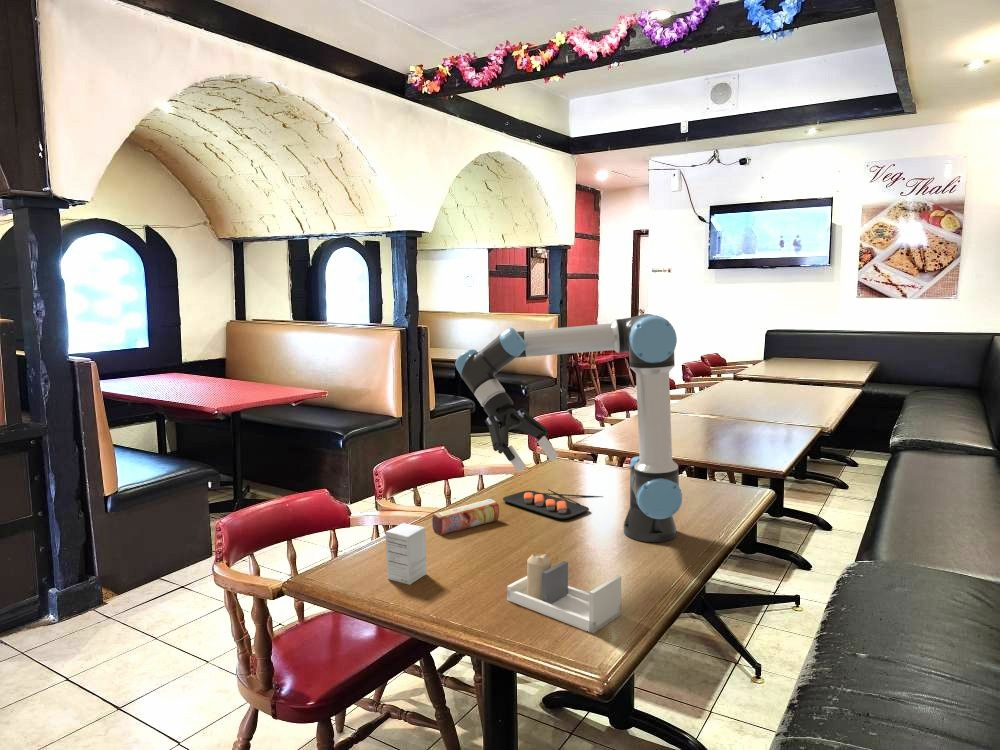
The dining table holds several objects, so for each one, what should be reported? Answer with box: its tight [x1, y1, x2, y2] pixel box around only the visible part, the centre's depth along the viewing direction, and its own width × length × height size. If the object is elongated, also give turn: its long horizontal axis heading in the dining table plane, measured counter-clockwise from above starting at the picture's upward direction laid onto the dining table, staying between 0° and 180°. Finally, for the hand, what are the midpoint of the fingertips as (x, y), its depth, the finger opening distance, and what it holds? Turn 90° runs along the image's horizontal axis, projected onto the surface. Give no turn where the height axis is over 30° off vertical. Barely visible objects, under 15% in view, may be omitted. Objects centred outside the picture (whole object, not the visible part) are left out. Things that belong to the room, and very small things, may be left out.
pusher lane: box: [506, 574, 622, 634], centre depth 155 cm, size 11×24×9 cm, turn 48°
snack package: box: [431, 498, 500, 536], centre depth 208 cm, size 21×7×7 cm, turn 125°
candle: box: [526, 553, 552, 600], centre depth 158 cm, size 6×6×10 cm
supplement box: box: [385, 522, 428, 585], centre depth 172 cm, size 7×7×13 cm
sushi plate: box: [502, 488, 604, 520], centre depth 231 cm, size 29×30×4 cm
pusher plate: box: [542, 560, 569, 604], centre depth 156 cm, size 8×1×8 cm, turn 138°
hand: (539, 464), depth 174 cm, fingers open, 13 cm apart
